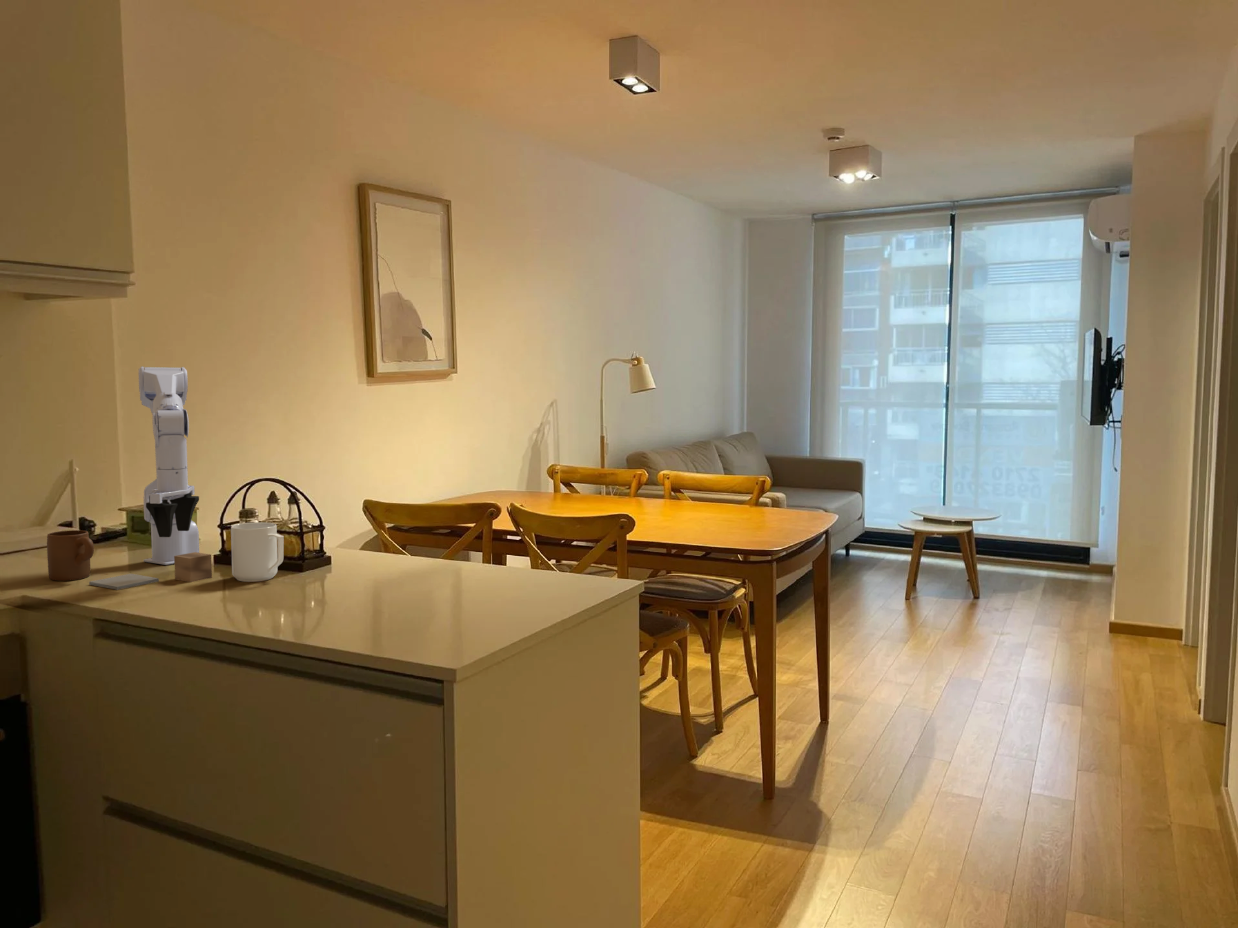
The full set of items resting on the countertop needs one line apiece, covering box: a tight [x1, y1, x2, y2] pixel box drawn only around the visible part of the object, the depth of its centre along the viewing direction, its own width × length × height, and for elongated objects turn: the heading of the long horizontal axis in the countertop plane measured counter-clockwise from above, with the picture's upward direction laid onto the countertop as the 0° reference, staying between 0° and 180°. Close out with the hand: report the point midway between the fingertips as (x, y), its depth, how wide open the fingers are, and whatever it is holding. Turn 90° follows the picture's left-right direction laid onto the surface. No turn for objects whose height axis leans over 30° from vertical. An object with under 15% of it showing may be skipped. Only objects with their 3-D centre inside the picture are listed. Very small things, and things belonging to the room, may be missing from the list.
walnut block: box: [173, 552, 213, 583], centre depth 193 cm, size 5×5×5 cm
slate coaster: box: [88, 573, 160, 591], centre depth 188 cm, size 9×9×1 cm
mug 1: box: [46, 529, 95, 582], centre depth 191 cm, size 12×8×9 cm, turn 60°
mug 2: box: [230, 521, 285, 583], centre depth 193 cm, size 12×9×11 cm
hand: (174, 533), depth 191 cm, fingers open, 7 cm apart
